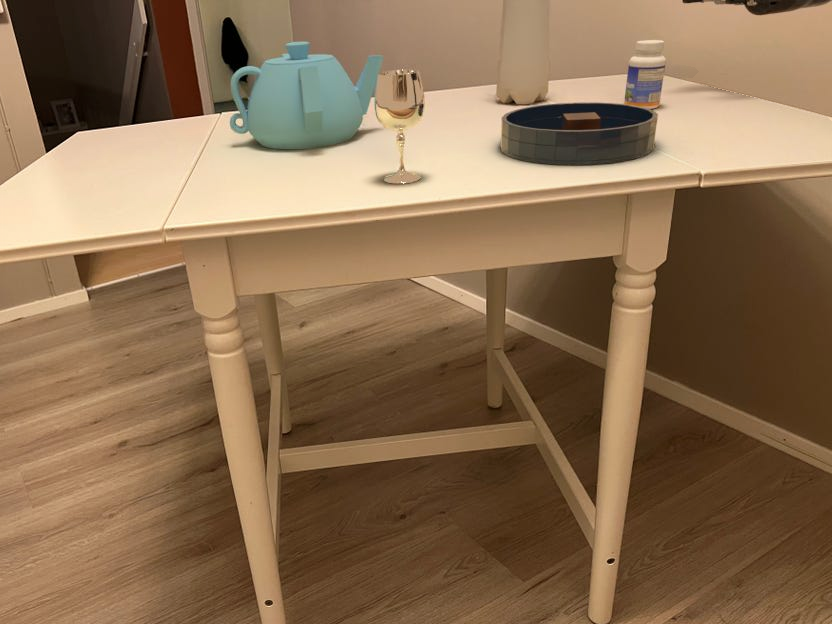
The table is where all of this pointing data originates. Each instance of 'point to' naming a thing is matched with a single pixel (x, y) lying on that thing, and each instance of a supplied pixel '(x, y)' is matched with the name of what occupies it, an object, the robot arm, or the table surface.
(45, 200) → the table surface
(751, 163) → the table surface
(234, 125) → the teapot
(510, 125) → the bowl
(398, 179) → the wineglass
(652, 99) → the pill bottle
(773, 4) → the robot arm
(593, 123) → the block
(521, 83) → the bottle
